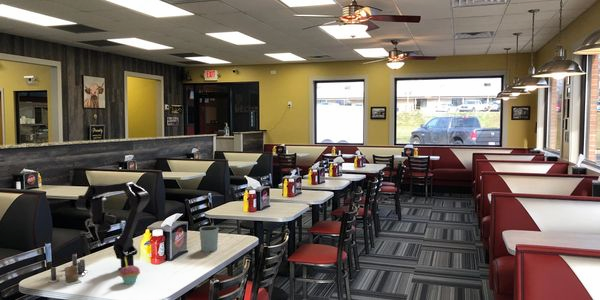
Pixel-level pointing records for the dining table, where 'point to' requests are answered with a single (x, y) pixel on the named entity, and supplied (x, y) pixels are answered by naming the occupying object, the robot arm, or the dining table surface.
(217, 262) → the dining table surface
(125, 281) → the cupcake
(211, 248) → the grey plant pot
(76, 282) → the coaster
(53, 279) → the post course
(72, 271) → the walnut block
